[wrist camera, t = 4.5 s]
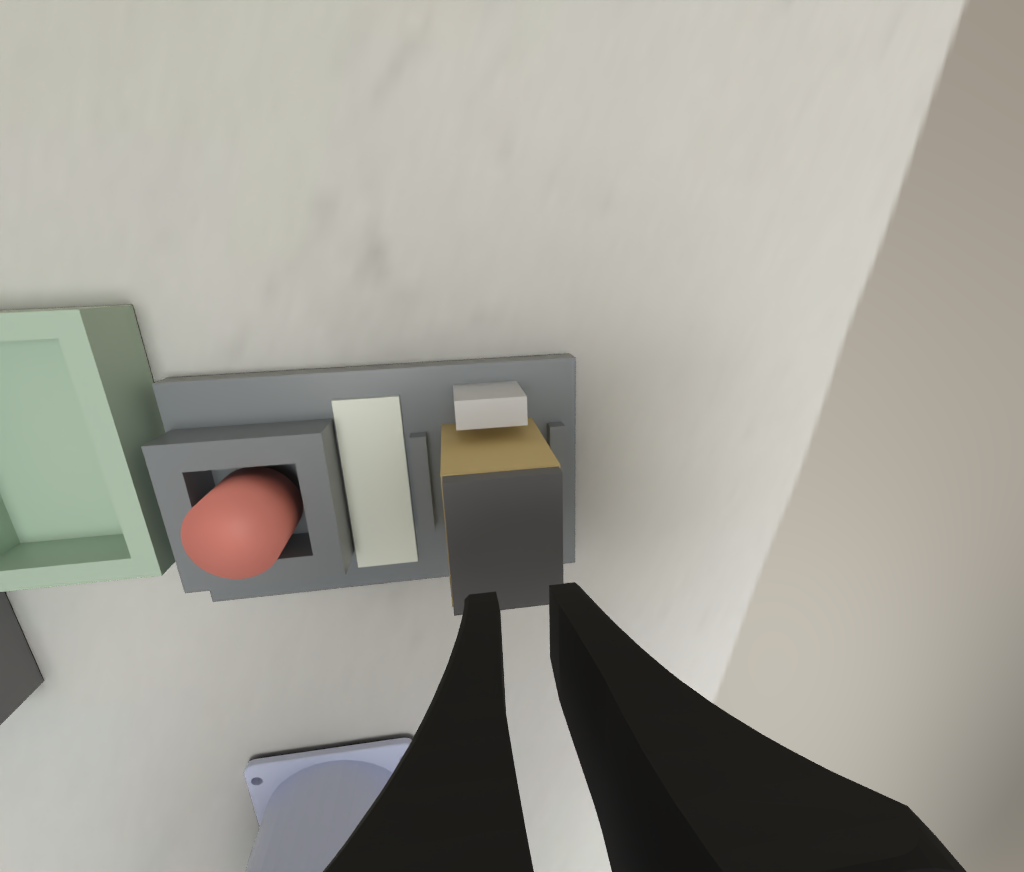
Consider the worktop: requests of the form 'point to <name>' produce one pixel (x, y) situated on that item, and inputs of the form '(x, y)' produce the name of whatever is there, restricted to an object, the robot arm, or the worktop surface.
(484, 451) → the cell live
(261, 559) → the test button
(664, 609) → the worktop surface
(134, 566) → the trough
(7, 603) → the bin
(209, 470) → the cradle
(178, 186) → the worktop surface
